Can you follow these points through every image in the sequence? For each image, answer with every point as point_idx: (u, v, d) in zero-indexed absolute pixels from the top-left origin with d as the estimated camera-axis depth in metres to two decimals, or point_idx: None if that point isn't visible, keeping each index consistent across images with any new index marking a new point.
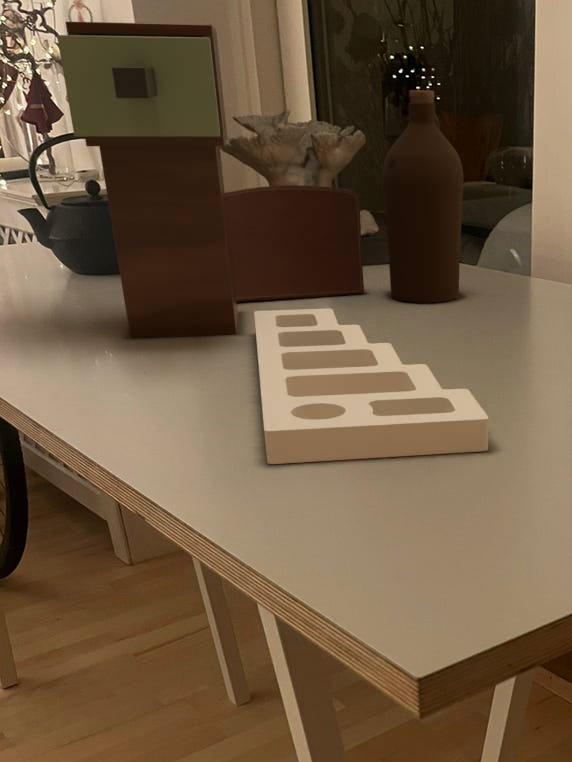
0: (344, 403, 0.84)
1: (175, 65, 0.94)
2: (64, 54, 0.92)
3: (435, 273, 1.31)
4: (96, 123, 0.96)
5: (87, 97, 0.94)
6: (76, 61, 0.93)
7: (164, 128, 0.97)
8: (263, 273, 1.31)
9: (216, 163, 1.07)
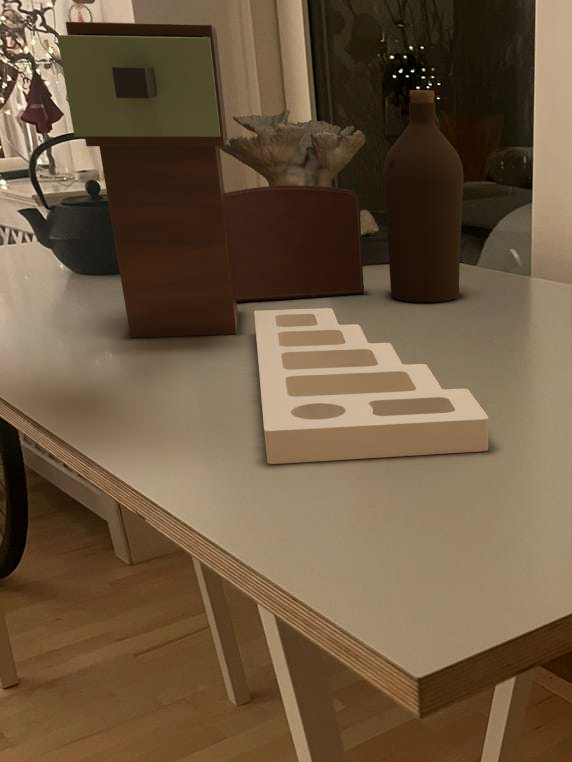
0: (345, 402, 0.84)
1: (175, 65, 0.94)
2: (64, 54, 0.92)
3: (435, 273, 1.31)
4: (96, 123, 0.96)
5: (87, 97, 0.94)
6: (76, 61, 0.93)
7: (164, 128, 0.97)
8: (263, 273, 1.31)
9: (216, 163, 1.07)
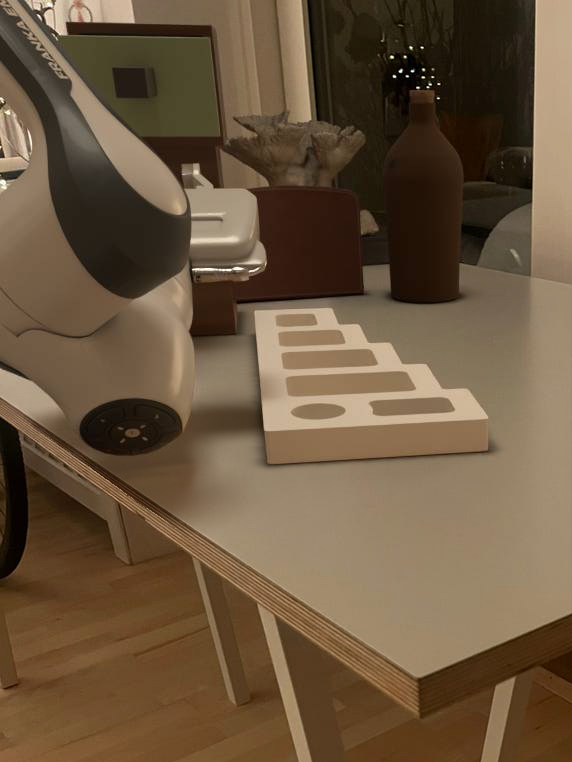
0: (344, 402, 0.84)
1: (175, 65, 0.94)
2: None
3: (435, 273, 1.31)
4: None
5: None
6: (76, 61, 0.93)
7: (164, 128, 0.97)
8: (263, 273, 1.31)
9: (216, 163, 1.07)
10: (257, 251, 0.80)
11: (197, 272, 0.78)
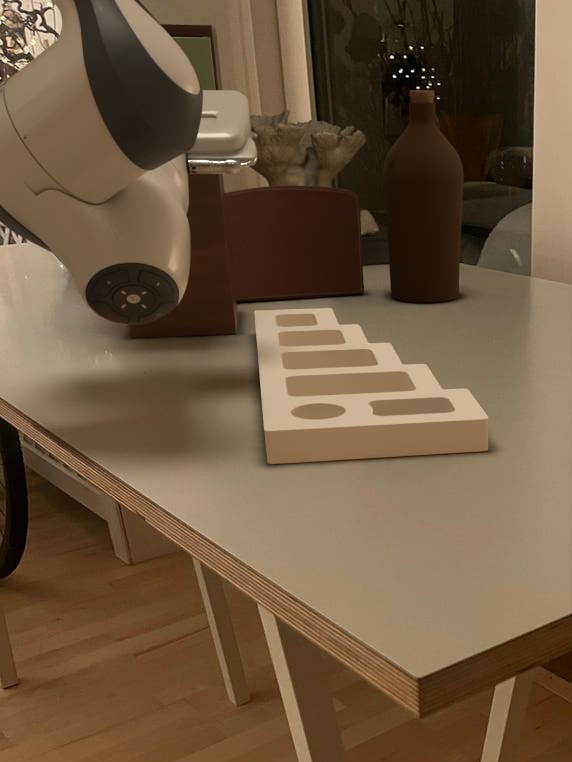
0: (345, 402, 0.84)
1: None
2: None
3: (435, 273, 1.31)
4: None
5: None
6: None
7: None
8: (262, 273, 1.31)
9: None
10: (248, 146, 0.87)
11: (193, 163, 0.85)
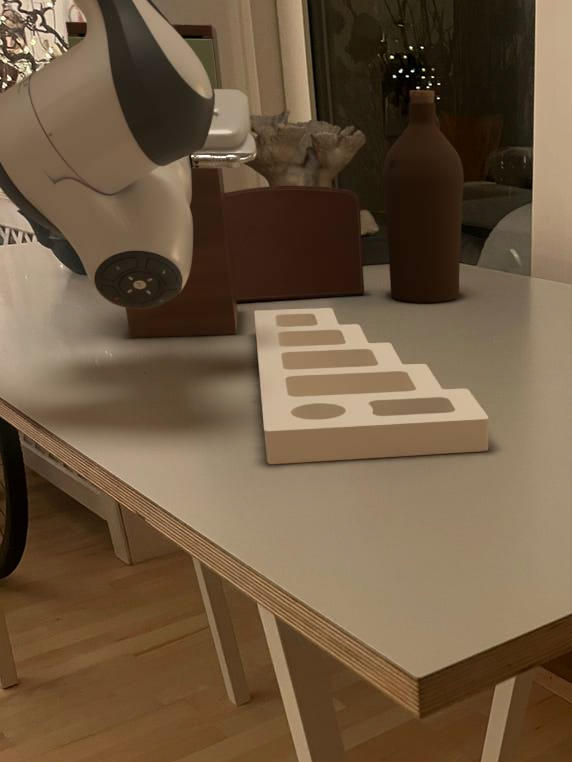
0: (345, 402, 0.84)
1: None
2: None
3: (435, 273, 1.31)
4: None
5: None
6: None
7: None
8: (262, 273, 1.31)
9: None
10: (248, 142, 0.92)
11: (196, 158, 0.90)
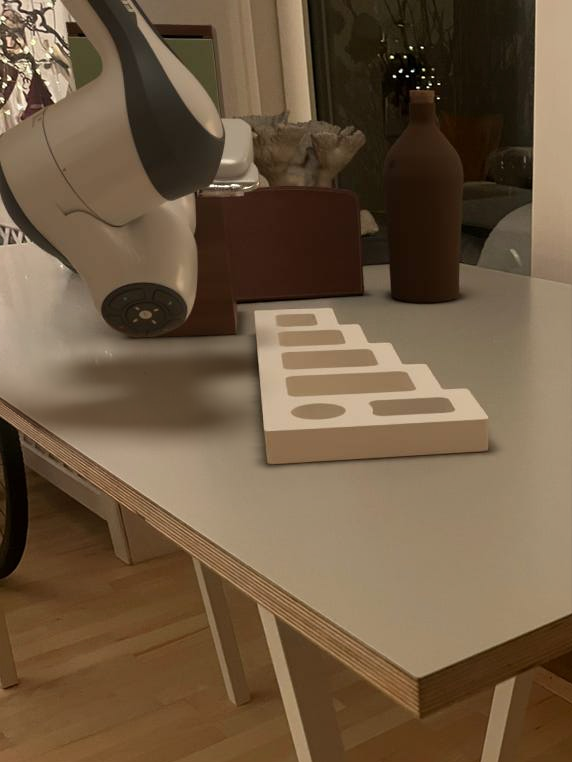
0: (345, 402, 0.84)
1: None
2: (74, 55, 0.97)
3: (435, 273, 1.31)
4: None
5: None
6: (85, 61, 0.98)
7: None
8: (262, 273, 1.31)
9: None
10: (251, 171, 0.94)
11: None
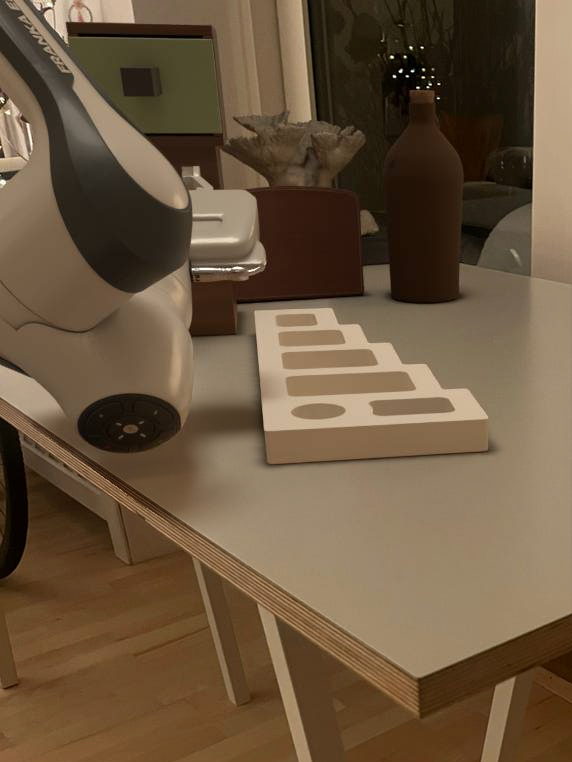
0: (345, 402, 0.84)
1: (179, 65, 1.00)
2: None
3: (435, 273, 1.31)
4: None
5: None
6: (85, 61, 0.98)
7: (168, 125, 1.02)
8: (262, 273, 1.31)
9: (216, 163, 1.07)
10: (257, 251, 0.80)
11: (196, 271, 0.78)
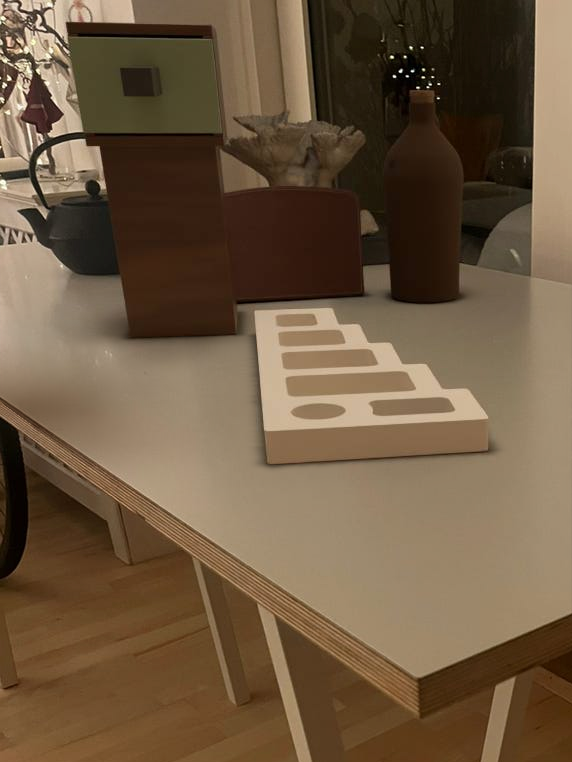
0: (345, 403, 0.84)
1: (179, 65, 1.00)
2: (74, 55, 0.97)
3: (435, 273, 1.31)
4: (104, 120, 1.01)
5: (95, 96, 0.99)
6: (85, 61, 0.98)
7: (168, 125, 1.02)
8: (262, 273, 1.31)
9: (216, 163, 1.07)
10: None
11: None
